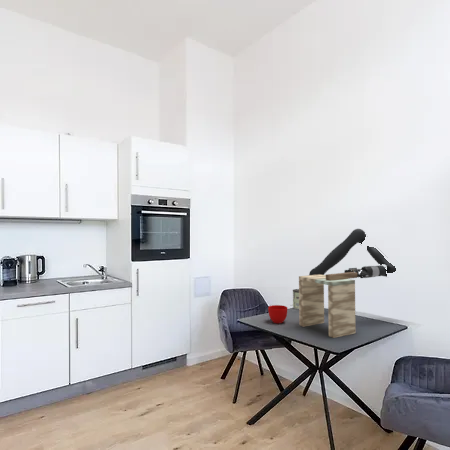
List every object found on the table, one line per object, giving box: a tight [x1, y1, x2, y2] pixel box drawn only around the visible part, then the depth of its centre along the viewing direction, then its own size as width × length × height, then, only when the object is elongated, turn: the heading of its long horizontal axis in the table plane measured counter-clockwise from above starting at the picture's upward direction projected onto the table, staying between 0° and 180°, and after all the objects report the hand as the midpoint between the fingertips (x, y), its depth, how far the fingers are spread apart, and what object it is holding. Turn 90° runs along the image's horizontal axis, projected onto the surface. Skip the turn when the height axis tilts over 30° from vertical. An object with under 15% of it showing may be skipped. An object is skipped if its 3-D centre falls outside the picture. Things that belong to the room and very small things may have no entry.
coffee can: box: [292, 288, 299, 310], centre depth 274 cm, size 10×10×14 cm
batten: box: [325, 272, 358, 281], centre depth 213 cm, size 4×23×3 cm, turn 118°
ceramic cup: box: [267, 304, 288, 324], centre depth 235 cm, size 13×17×10 cm
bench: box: [298, 274, 357, 339], centre depth 216 cm, size 30×18×32 cm, turn 28°
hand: (348, 273), depth 226 cm, fingers open, 8 cm apart
